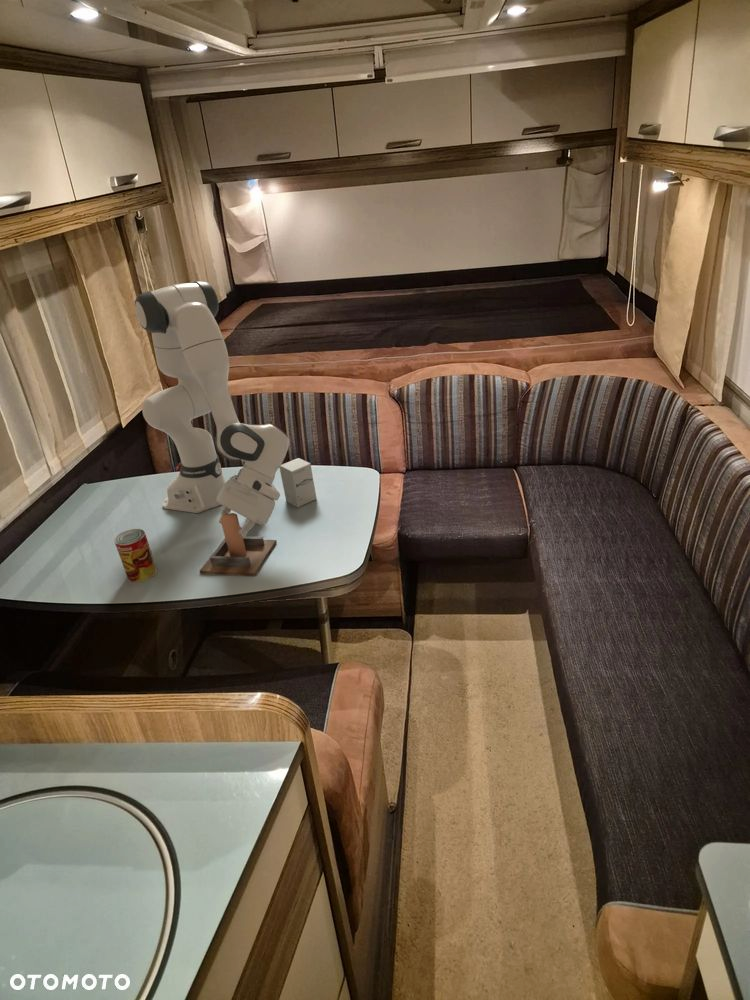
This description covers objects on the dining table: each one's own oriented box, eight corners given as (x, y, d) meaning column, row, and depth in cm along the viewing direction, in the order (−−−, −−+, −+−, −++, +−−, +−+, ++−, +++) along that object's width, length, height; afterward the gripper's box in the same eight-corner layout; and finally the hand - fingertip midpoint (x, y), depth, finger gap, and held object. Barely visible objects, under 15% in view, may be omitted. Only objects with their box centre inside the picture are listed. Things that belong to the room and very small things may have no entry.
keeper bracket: (200, 573, 171) (197, 563, 169) (225, 541, 185) (222, 531, 183) (255, 576, 167) (252, 565, 165) (276, 542, 181) (274, 532, 179)
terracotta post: (227, 559, 174) (217, 521, 168) (234, 550, 178) (224, 512, 172) (242, 559, 173) (233, 521, 167) (249, 550, 177) (239, 513, 171)
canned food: (122, 576, 175) (108, 538, 169) (148, 562, 179) (135, 525, 174) (136, 585, 170) (123, 547, 164) (162, 571, 174) (150, 534, 169)
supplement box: (298, 508, 197) (290, 471, 191) (285, 500, 203) (278, 465, 197) (317, 499, 201) (311, 463, 195) (304, 492, 207) (298, 456, 201)
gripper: (224, 469, 177) (202, 514, 176) (267, 488, 163) (243, 537, 162) (241, 477, 182) (219, 521, 181) (284, 496, 168) (261, 544, 167)
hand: (231, 529), depth 171 cm, fingers open, 8 cm apart
